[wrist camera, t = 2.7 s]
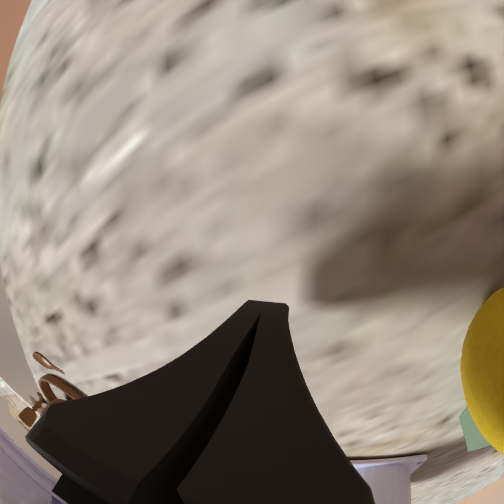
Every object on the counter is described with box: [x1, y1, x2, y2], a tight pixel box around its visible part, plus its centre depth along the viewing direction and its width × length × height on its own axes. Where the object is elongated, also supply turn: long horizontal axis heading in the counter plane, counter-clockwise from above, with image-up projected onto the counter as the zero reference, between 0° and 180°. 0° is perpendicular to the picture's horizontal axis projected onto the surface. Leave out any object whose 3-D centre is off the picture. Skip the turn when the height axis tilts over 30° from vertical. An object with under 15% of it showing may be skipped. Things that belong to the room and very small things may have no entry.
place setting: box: [18, 353, 85, 427], centre depth 22 cm, size 18×20×6 cm
